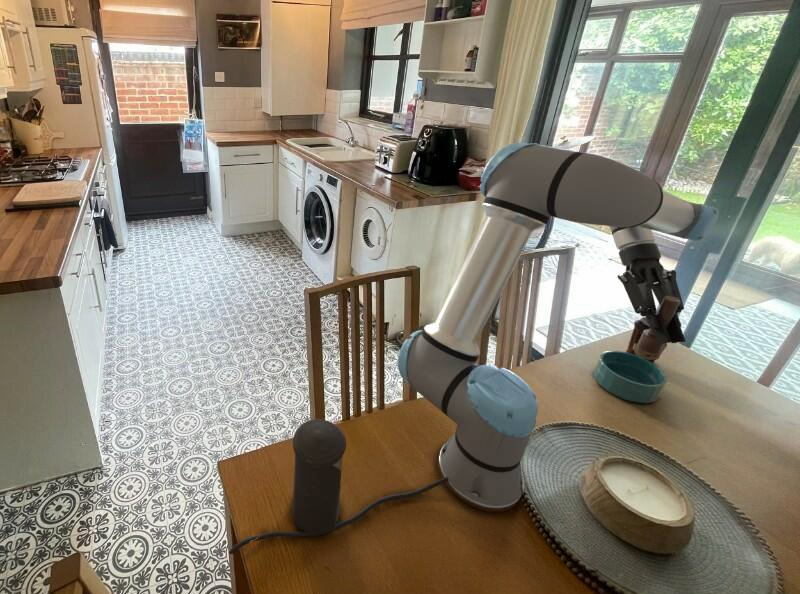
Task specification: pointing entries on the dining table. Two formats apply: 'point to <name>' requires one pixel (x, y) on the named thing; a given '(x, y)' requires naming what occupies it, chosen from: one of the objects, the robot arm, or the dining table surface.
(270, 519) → the dining table surface
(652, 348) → the pestle
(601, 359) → the bowl
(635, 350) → the coffee cup
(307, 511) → the container
